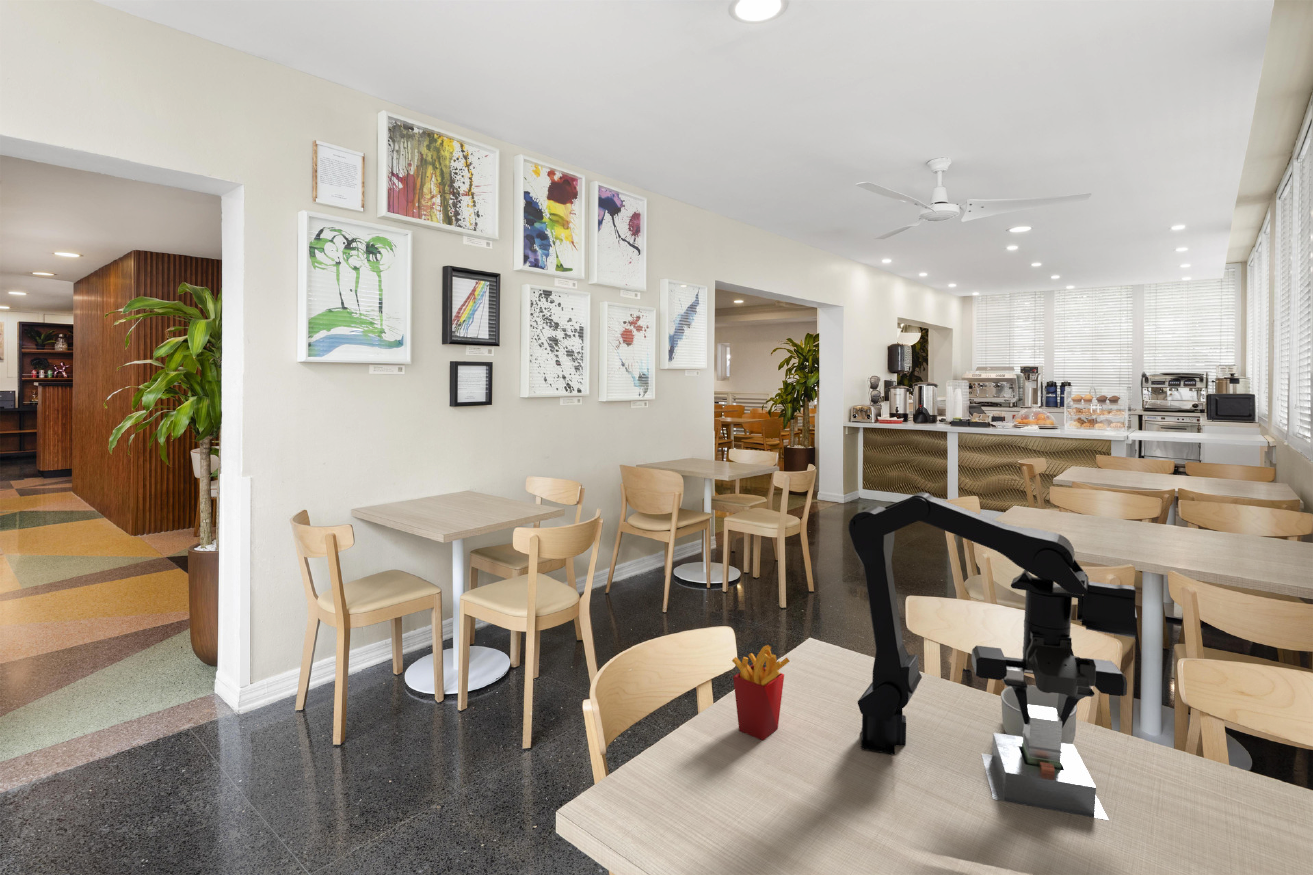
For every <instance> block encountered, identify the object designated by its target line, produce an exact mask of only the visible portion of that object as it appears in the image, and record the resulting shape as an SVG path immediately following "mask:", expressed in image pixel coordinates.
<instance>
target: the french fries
mask: <svg viewBox="0 0 1313 875" xmlns="http://www.w3.org/2000/svg"><path fill="white" fill-rule="evenodd" d="M771 649H772V646H770V645H769V644H766V645H764V646H763V647H762V648H761V649H760V651H759V653H758V654H757V656H755V655H754V653H749V654H748V655H747V656H748V657H749V658H748V657H746V656H743V657H742V659H741V660H742V661H741V660H740V659H739V658H738V657H737V656H734V658H732V660H731V662H732V663H734V665H735V666H736V667H737V668H738V670H739V671H740V672H738V673H736V674H735V675H733V687H734V694H735V695H734V696H735V704H736V714H737V723H738V731H739V732H741V733H744V734H745V735H749V736H751V737H754V738H755V739H759V740H761V741H765V740H766V739H767V738H768V737H770V736H771V735H772V734H774V732H776V731H777V730H778V729H779V722H780V713H781V705H782V698H783V697H782V696H783V689H784V680H785V674H784V673H782V672H780V671H779V670H781V669H783V668H784V667H785V666H786V665H787V664H789V663H790V660H789V658H788V657H785V658H784V659H783V660H782V661H779V660H778V659H777V655H776V654H773V653H772V651H771ZM749 659H750V660H751V663H752V664H751V665H749ZM777 660H778V661H777ZM764 665H765V667H764Z"/></svg>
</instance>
